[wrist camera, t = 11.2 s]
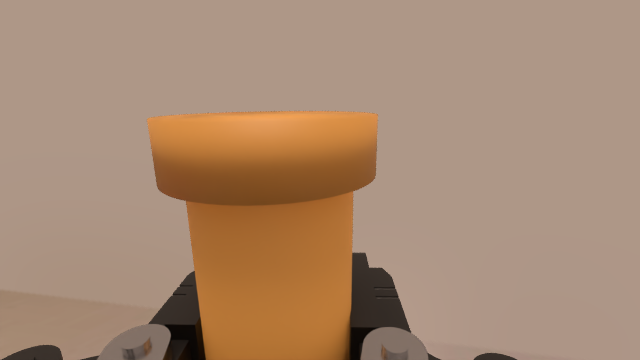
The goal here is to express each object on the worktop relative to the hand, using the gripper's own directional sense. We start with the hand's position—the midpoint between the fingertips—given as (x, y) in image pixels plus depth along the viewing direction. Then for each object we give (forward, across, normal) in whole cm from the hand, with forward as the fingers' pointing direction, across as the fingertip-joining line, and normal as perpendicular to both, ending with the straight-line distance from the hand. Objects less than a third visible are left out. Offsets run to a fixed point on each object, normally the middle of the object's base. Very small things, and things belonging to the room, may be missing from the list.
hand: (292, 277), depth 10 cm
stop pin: (-3, 0, +10) cm, 10 cm away
